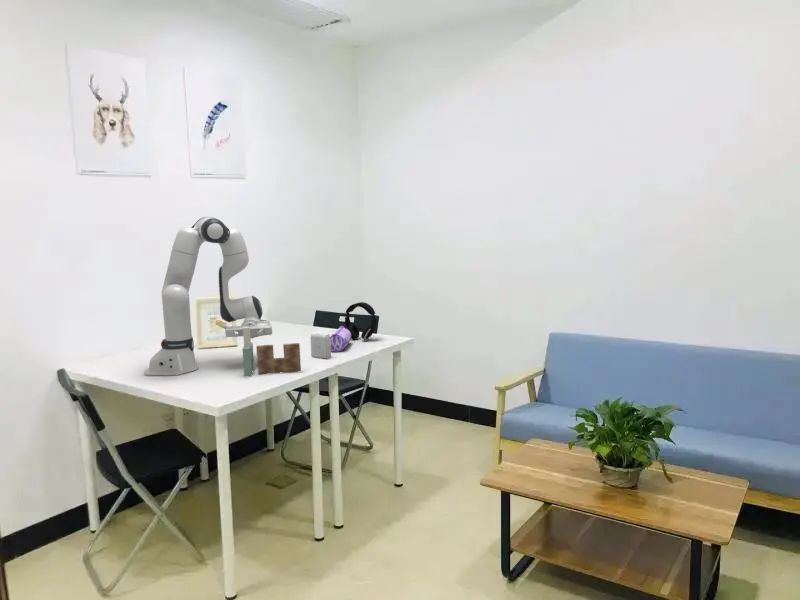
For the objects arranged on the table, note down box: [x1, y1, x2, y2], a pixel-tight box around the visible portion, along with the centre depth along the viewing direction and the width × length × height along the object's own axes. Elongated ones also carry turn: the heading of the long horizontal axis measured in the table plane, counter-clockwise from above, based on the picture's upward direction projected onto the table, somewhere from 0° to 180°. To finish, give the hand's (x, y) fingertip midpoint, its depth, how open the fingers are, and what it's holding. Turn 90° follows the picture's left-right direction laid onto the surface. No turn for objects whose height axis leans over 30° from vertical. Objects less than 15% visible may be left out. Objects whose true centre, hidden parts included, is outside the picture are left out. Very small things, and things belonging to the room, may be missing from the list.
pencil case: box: [330, 325, 352, 353], centre depth 310 cm, size 22×9×10 cm, turn 177°
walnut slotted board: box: [256, 342, 302, 375], centre depth 266 cm, size 18×2×12 cm, turn 98°
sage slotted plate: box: [242, 327, 255, 377], centre depth 266 cm, size 3×12×20 cm, turn 8°
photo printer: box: [310, 330, 332, 359], centre depth 291 cm, size 10×4×12 cm, turn 56°
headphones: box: [344, 301, 377, 341], centre depth 325 cm, size 18×8×20 cm, turn 61°
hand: (247, 334), depth 267 cm, fingers open, 8 cm apart
